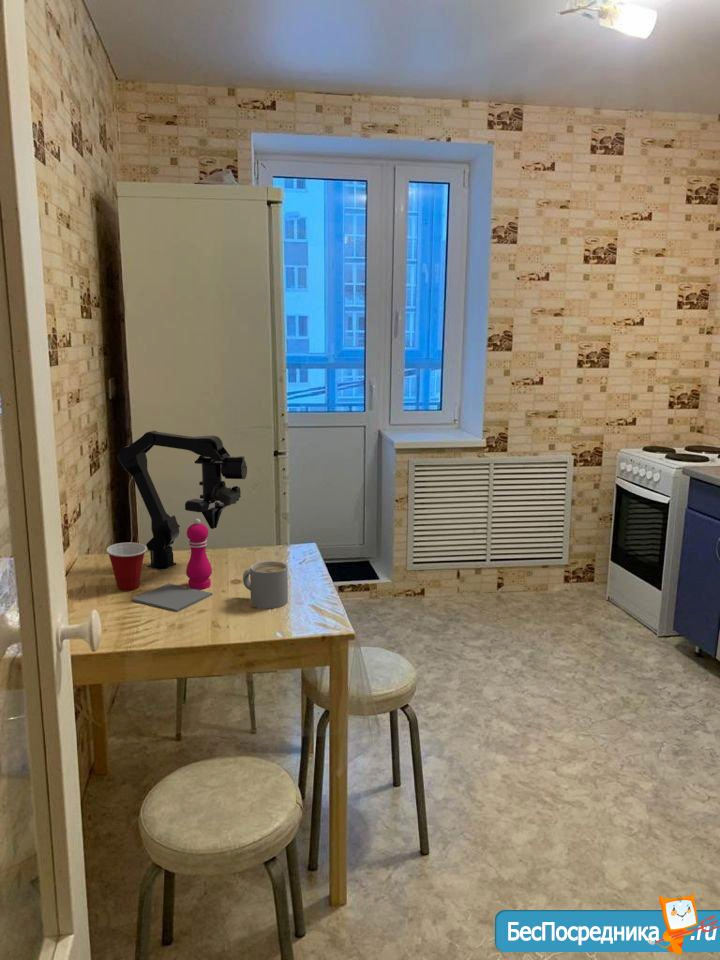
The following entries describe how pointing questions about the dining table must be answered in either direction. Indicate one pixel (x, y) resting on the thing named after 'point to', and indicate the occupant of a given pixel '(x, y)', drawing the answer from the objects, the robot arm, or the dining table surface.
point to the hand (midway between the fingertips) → (213, 528)
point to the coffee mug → (267, 584)
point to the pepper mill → (198, 557)
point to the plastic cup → (127, 564)
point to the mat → (172, 597)
